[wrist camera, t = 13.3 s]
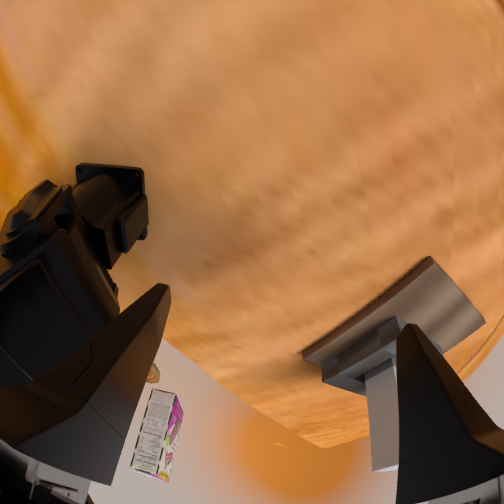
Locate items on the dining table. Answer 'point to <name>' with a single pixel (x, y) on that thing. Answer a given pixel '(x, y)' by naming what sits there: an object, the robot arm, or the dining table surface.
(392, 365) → the white block
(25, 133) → the dining table surface
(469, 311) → the grey square socket base
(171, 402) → the candy bar box
